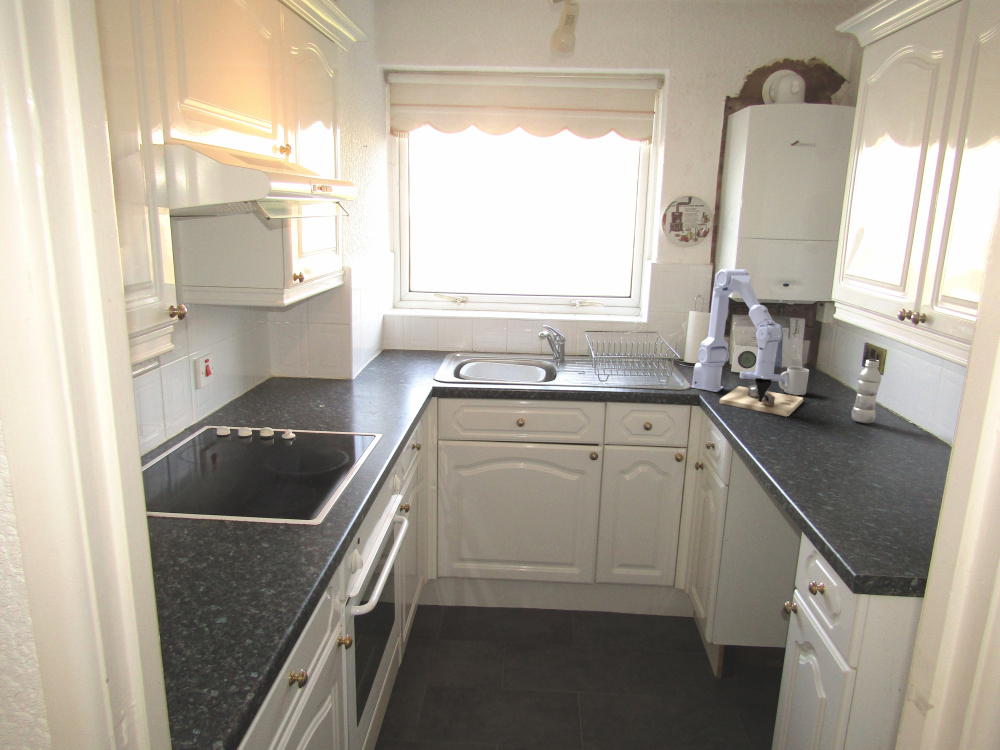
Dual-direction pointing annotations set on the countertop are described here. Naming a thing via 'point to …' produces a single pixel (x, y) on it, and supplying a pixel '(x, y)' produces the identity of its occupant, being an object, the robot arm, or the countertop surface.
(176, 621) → the countertop surface
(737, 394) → the lock board
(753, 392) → the lever
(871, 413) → the plastic bottle
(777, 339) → the robot arm
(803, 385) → the cup
